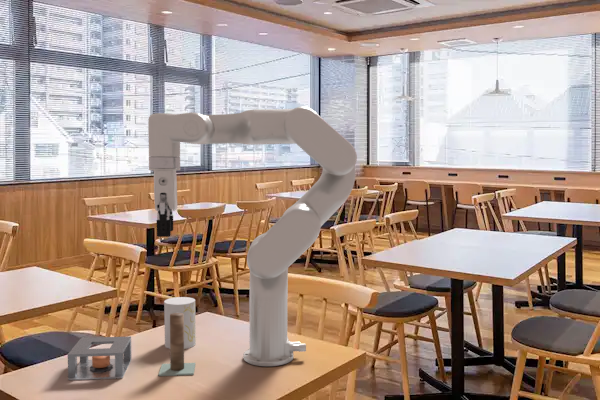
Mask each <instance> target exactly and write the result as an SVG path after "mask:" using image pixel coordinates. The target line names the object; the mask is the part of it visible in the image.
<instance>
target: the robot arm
mask: <svg viewBox="0 0 600 400" xmlns="http://www.w3.org/2000/svg"><path fill="white" fill-rule="evenodd" d="M147 124H148V125H147V128H148V130H147V131H148V171H153V195H154V196H153V197H154V209H155V211H156V212H157V214H156V215H157V216H156V218H157V219H156V238H157V237H158V238H160V237H161V238H166V237H167V238H168V237H171V234H172V233H171V232H173V231H174V215H173V212H175V211H176V210H177V209H178V178H177V177H178V176H177V171H181V143H185V144H192V145H193V144H194V145H210V144H211V145H216V144H217V145H218V144H227V145H228V144H241V145H249V146H251V145H252V146H255V145H256V146H257V145H258V146H259V145H289V144H290V145H295V144H296V145H297V146H298V148H299V147H300V149H301V150H302V151H304V153H305V154H307V155H308V156H309V157H310V158H311V159H312V160H313V161H315V162H316V163H317V164H318V165H319V166H321V168H322V172H321V175H320V177H319V178H318V180H317V181H316V182H315V183H314V184H313V185H312V186H311V187H310V188H309V189H308V190H307V191H306V192H305V193H304V194H303V195H302V196H301V197H300V198H299V199H298V200H297V201H296V202H295V203H294V204H292V205H290V206H289V207H288V208H287V209H286V210H285V211H284V212H283V214H282V216H281V217H280V218H278V220H277V221H276V222H275V223H274V224H273V225H272V226H271V227H270V228H269V229H267V231H266V232H264V233H262V234H260V235H258V236H256V238H254V239H253V241H252V242H251V244H250V245H249V248H248V250H247V255H246V264H247V267H248V269H249V297H248V298H249V299H248V300H249V301H248V302H249V349H247V350H245V351H244V352H243V356H242V357H243V360H244V361H245V362H246V363H248V364H250V365H253V366H257V367H258V366H259V367H276V366H277V367H278V366H283V365H286V364H288V363H291V362H292V361H293V359H294V352H306V351H307V345H306V343H301V342H300V341H290V339H289V337H288V297H289V296H288V294H289V292H288V291H289V290H288V288H289V287H288V286H289V285H288V284H289V283H288V282H289V278H288V277H289V267H290V266H291V265H293V263H295V262H296V260H298V259H299V258H300V257H301V256H302V255H304V253H305V252H306V251H307V250H308V249H309V248H310V247H311V246H312V245H313V244H314V243H315V242H316V241H317V239H318V237H319V235H320V232H321V227H322V226H324V224H325V223H326V222H327V221H328V220H329V219H330V218H331V217H332V216H333V215H334V214H335V213H336V212H337V211H338V210H339V209H340V208H341V207H342V205H343V204H344V203H345V202H346V201H347V200H348V198H349V197H350V195H351V193H352V190H354V189H353V188H354V186H355V181H356V164H357V159H358V154H357V151H356V149H355V147H354V145H352V143H351V142H350V141H349V140H347V139H346V138H345V137H344V136H343V135H342V134H341V133H339V132H338V130H336V129H335V128H334V127H333V126H331V125H330V124H329V123H328V122H327V121H326V120H325V119H324V118H322V117H321V116H320V115H319V114H318V112H316V111H315V110H313V109H312V108H311V107H308V106H297V107H294V108H278V109H277V108H273V109H266V108H265V109H255V108H254V109H248V110H244V111H241V112H238V113H229V114H228V113H226V114H223V113H222V114H202V113H199V112H193V111H192V112H186V113H167V112H165V113H164V112H160V113H159V112H157V113H156V112H155V113H152V114H151V115H149V116H148V120H147Z"/></svg>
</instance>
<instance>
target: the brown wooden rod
mask: <svg viewBox="0 0 600 400" xmlns="http://www.w3.org/2000/svg"><path fill="white" fill-rule="evenodd" d="M169 351H170V352H169V354H170V355H169V356H170V357H169V364H170V369H171V370H173V371H179V370H183V369H184V363H185V349H184V314H183V313H172V314H170V349H169Z"/></svg>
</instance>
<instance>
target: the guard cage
mask: <svg viewBox="0 0 600 400" xmlns="http://www.w3.org/2000/svg"><path fill="white" fill-rule="evenodd" d="M92 345H110V347H108V348H107V347H106V348H105V347H104V348H91V347H92ZM92 356H110V357H111V356H112V357H113V356H114V358H110V365H109V366H107V367H103V368H95V367H93V366H92V359H89V357H92ZM78 358H79V363H78ZM132 360H133V359H132V336H105V337H103V336H99V337H80V339H79V340H78V341H77V342H76V344H75V345H74V346H73V347H72V349H71V350H70V351H69V352H68V353H67V377H68V378H67V379H68V381H82V380H83V381H85V380H111V379H112V380H114V379H116V378H117V379H123V378H124V376H125V374H126V372H127V370H128V368H129V366H130V364H131V362H132Z"/></svg>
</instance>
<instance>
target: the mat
mask: <svg viewBox="0 0 600 400" xmlns="http://www.w3.org/2000/svg"><path fill="white" fill-rule="evenodd" d="M195 368H196V362H184V369H183V370H179V371H173V370H171V369H170V363H162V364H161V366H160V369H159V372H158V377H172V376H175V377H177V375H178V376H194V374H195Z"/></svg>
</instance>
